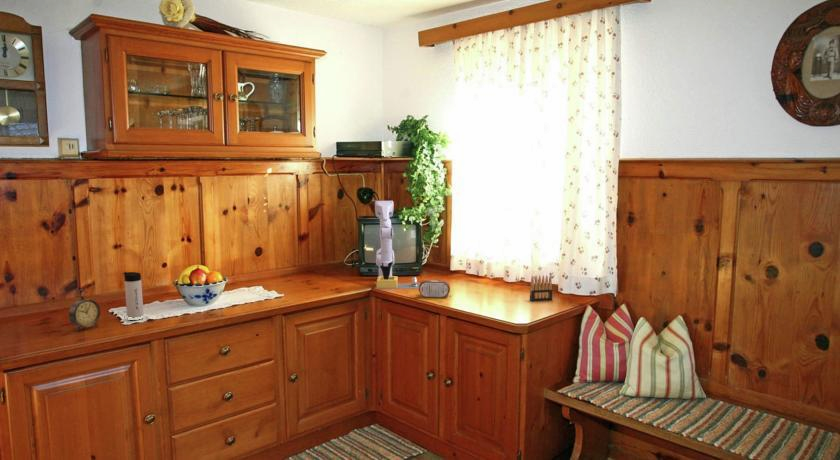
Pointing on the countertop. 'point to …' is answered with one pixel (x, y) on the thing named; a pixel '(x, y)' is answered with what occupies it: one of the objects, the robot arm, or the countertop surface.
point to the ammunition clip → (541, 289)
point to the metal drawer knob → (414, 282)
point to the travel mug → (133, 294)
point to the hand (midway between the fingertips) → (386, 277)
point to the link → (387, 282)
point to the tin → (434, 288)
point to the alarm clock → (84, 312)
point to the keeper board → (402, 286)
